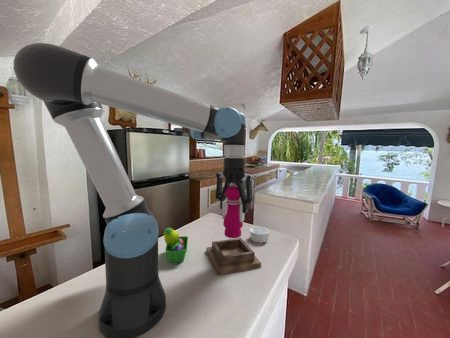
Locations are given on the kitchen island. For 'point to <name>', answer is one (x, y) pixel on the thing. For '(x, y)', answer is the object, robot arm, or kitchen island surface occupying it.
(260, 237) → the ramekin
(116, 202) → the robot arm
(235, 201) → the pepper mill
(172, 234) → the fruit basket
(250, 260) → the walnut stand
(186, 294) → the kitchen island surface
